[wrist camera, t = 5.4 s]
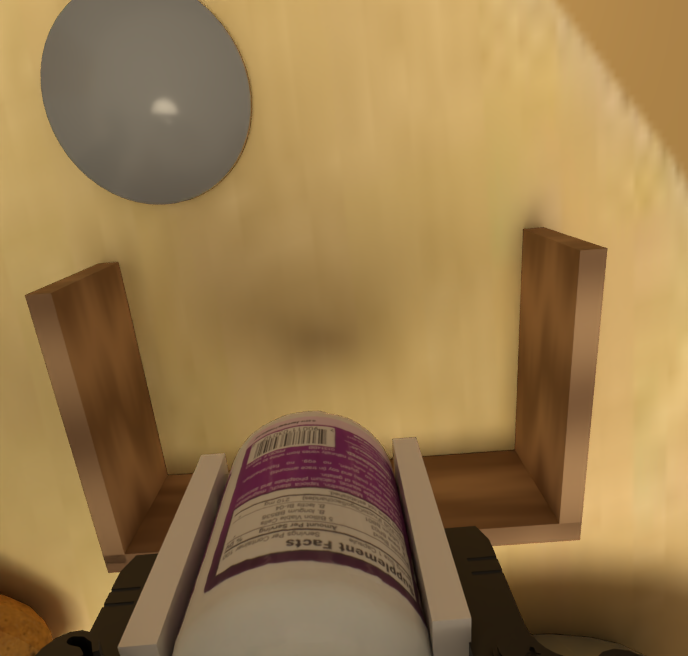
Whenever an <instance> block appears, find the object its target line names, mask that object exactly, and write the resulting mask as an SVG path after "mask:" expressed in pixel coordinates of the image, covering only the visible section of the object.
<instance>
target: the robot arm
mask: <svg viewBox="0 0 688 656" xmlns="http://www.w3.org/2000/svg"><path fill="white" fill-rule="evenodd" d="M392 441H393V459H394V476H395V480H396V483H397V488H398V492H399V497H400V502H401V508H402V512H403V517H404V522H405V526H406V530H407V535H408V540H409V544H410V549H411V553H412V558H413V563H414V569H415V574H416V579H417V583H418V588H419V592H420V597H421V603H422V608H423V611H424V616H425V621H426V624H427V627H428V631H429V636H430V644H431V652H432V656H563V655H560V654H557V653H555V652H553V651H551V650H549V649H547V648H545V647H544V646H543V645H542V644H540V643H539V642H538V641H537V640H536V639H535V637H533V636H532V635H531V634H530V633H529V631H528V629H527V628H526V626H525V624H524V622H523V619H522V617H521V615H520V612H519V610H518V607H517V605H516V603H515V600H514V598H513V595H512V593H511V591H510V588H509V586H508V583H507V581H506V579H505V576H504V574H503V573H502V569H501V567H500V564H499V562H498V559H496V554H495V552H494V550H493V547H492V545H491V542H490V540H489V539H488V538H487V537H486V536H485V535H484V534H483V533H482V532H481V531H480V530H479V529H478V528H477V527H476V526H466V527H454V528H444V527H443V524H442V521H441V517H440V514H439V511H438V507H437V504H436V501H435V498H434V494H433V491H432V488H431V485H430V481H429V478H428V475H427V471H426V468H425V465H424V462H423V458H422V455H421V452H420V449H419V445H418V442H417V439H416V437H411V438H399V439H392ZM228 476H229V472H228V467H227V461H226V456H225V453H219V454H207V455H201V457H200V459H199V462H198V464H197V466H196V469H195V471H194V473H193V475H192V478H191V480H190V482H189V485H188V487H187V489H186V492H185V494H184V496H183V498H182V501H181V503H180V505H179V508H178V510H177V512H176V514H175V517H174V519H173V521H172V524H171V526H170V528H169V530H168V533H167V535H166V537H165V540H164V542H163V544H162V547H161V549H160V551H159V553H157V554H145V555H136V556H135V557H134V558H133V559H132V560H131V561H130V562H129V563H128V564H127V565H126V566H125V567H124V568H123V569H122V570H121V572H120V574H119V576H118V578H117V579H116V581H115V583H114V585H113V587H112V592H111V593H109V595H108V597H107V599H106V601H105V603H104V607H102V609H101V611H100V613H99V615H98V617H97V619H96V621H95V623H94V625H93V627H92V629H91V631H90V632H87V631H83V630H81V631H74V632H69V633H67V634H64V635H62V636H60V637H57V638H55V639H54V640H53V641H51V642H50V643H48V644H47V645H46V646H44V647H43V648H42V649H41V650H40V651H39V652H38V653H37V654H36V655H35V656H172V654H173V650H174V645H175V641H176V638H177V634H178V631H179V629H180V626H181V623H182V620H183V617H184V615H185V612H186V609H187V606H188V602H189V599H190V595H191V593H192V590H193V587H194V584H195V581H196V577H197V574H198V571H199V568H200V565H201V563H202V559H203V556H204V553H205V550H206V547H207V544H208V541H209V537H210V534H211V531H212V528H213V525H214V521H215V518H216V515H217V512H218V509H219V505H220V502H221V499H222V495H223V492H224V489H225V486H226V483H227V479H228ZM599 656H641V655H639V654H636V653H634V652H631V651H629V650H622V649H610V650H607V651H603V652H602V653H601V654H600V655H599Z"/></svg>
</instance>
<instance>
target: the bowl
mask: <svg viewBox="0 0 688 656" xmlns="http://www.w3.org/2000/svg"><path fill="white" fill-rule="evenodd" d="M532 636H533V637H535V639H536V640H537V641H538V642H539V643H540V644H542V645H543V646H544V647H545V648H547V649H549V650H551V651H553V652H555V653H557V654H560V655H563V656H599V655H600V654H601V653H602V652H603V651H607V650H610V649H622V650H629V651H631V652H634V653H636V654H639V655H641V656H645V655H643V654H641V653H638V652H636V651H634V650H632V649H630V648H627V647H625V646H623V645H621V644H618V643H613V642H609V641H604V640H600V639H595V638H591V637H581V636H569V635H557V634H538V635H532Z"/></svg>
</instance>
